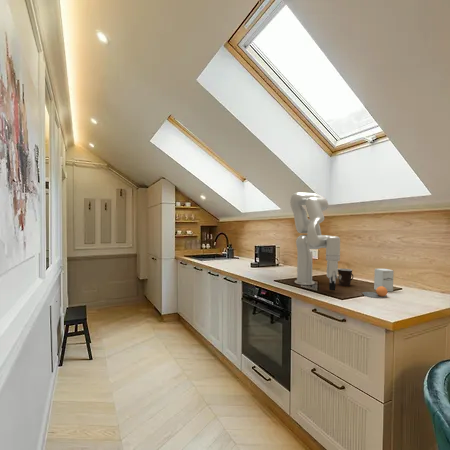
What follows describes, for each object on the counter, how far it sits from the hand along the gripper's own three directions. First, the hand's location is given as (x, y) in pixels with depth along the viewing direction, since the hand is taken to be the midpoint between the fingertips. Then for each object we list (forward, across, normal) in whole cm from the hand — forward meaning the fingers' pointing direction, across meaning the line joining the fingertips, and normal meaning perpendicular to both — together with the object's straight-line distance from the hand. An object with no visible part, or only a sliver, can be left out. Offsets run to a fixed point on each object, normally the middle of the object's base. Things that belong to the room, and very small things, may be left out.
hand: (332, 289), depth 167 cm
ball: (-1, +2, +25) cm, 25 cm away
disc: (+2, 0, +22) cm, 22 cm away
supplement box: (+2, -14, +31) cm, 34 cm away
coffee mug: (+2, -22, +11) cm, 25 cm away
